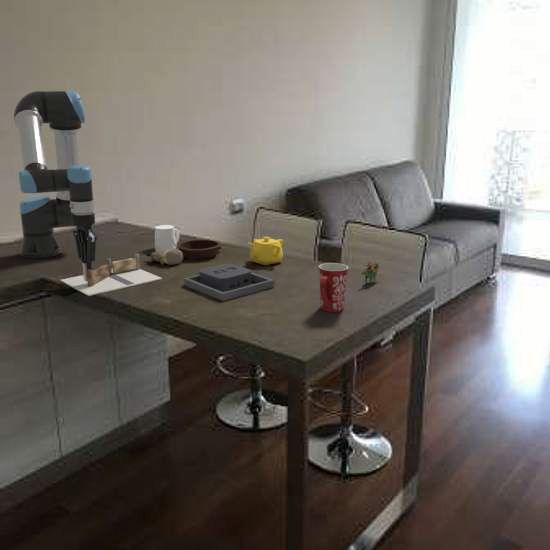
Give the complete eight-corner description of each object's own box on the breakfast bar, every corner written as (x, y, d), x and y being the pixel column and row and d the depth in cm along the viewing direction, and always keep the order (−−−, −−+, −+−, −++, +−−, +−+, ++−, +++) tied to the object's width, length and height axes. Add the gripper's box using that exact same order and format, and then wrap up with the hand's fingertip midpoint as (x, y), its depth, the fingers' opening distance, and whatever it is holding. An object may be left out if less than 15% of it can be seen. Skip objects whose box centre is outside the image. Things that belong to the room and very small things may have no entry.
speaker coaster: (184, 285, 210) (183, 278, 209) (234, 273, 224) (233, 266, 223) (222, 301, 194) (222, 293, 194) (273, 287, 208) (273, 280, 208)
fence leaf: (105, 274, 219) (104, 260, 217) (110, 275, 218) (109, 261, 217) (86, 285, 206) (85, 270, 205) (91, 285, 206) (90, 271, 205)
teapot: (280, 268, 230) (280, 242, 227) (247, 267, 232) (246, 241, 229) (284, 259, 243) (284, 234, 240) (252, 257, 245) (252, 232, 242)
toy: (143, 264, 238) (171, 267, 230) (142, 249, 237) (170, 251, 228) (161, 259, 246) (189, 262, 238) (160, 245, 245) (188, 247, 236)
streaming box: (228, 276, 221) (228, 262, 220) (254, 285, 211) (254, 271, 210) (196, 284, 212) (195, 270, 210) (222, 294, 202) (221, 279, 200)
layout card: (60, 280, 214) (60, 279, 214) (131, 266, 232) (131, 264, 232) (88, 296, 198) (88, 294, 198) (162, 279, 216) (162, 277, 216)
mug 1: (161, 230, 250) (149, 227, 255) (162, 252, 252) (150, 248, 258) (184, 225, 258) (172, 223, 263) (184, 246, 261) (173, 243, 266)
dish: (233, 255, 249) (233, 243, 247) (189, 265, 235) (189, 252, 233) (208, 247, 261) (208, 236, 260) (164, 256, 247) (164, 244, 245)
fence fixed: (109, 276, 219) (108, 259, 217) (107, 275, 220) (105, 258, 218) (140, 270, 227) (139, 253, 225) (138, 269, 228) (137, 252, 227)
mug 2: (325, 301, 195) (326, 261, 191) (351, 306, 190) (353, 265, 186) (306, 313, 184) (307, 270, 180) (333, 318, 180) (335, 275, 176)
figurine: (381, 280, 216) (382, 258, 214) (363, 288, 208) (365, 265, 205) (373, 278, 218) (375, 256, 216) (356, 286, 209) (357, 264, 207)
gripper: (63, 211, 205) (69, 277, 212) (80, 217, 195) (87, 286, 203) (84, 208, 209) (90, 273, 217) (102, 214, 200) (107, 282, 208)
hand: (88, 279), depth 210 cm, fingers closed
